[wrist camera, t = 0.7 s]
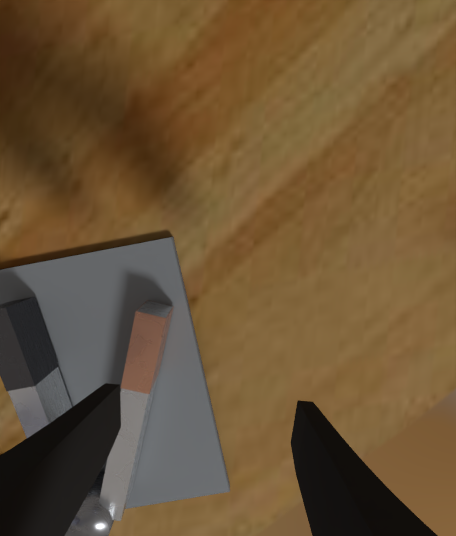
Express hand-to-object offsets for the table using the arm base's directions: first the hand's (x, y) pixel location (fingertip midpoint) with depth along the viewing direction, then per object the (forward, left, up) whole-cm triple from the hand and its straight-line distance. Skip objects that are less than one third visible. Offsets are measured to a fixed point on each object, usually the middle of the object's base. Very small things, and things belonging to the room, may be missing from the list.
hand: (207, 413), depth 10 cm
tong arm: (-9, -7, -10) cm, 15 cm away
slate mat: (-10, -5, -10) cm, 15 cm away
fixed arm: (-14, -3, -10) cm, 18 cm away
